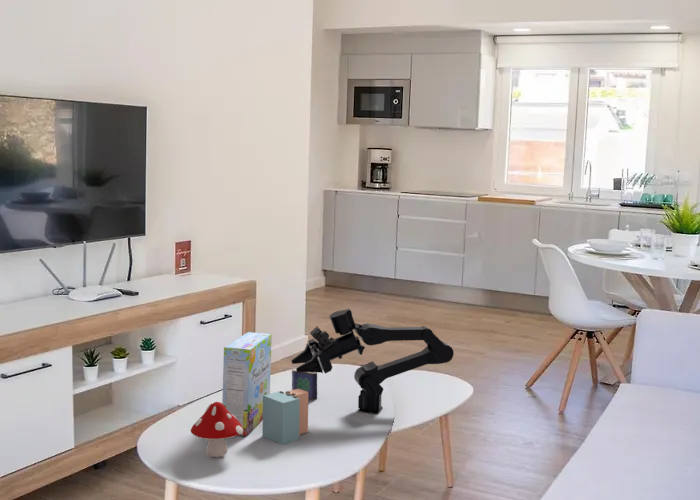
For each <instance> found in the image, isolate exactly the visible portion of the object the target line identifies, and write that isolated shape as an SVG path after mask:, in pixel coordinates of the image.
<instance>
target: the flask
mask: <svg viewBox="0 0 700 500" xmlns="http://www.w3.org/2000/svg"><path fill="white" fill-rule="evenodd" d="M295 389H301V390H304V391H307V392H308V400H312V401H316V400H318V372H297V370H296V368H295V369H294V368H293V369H292V370H291V390H295Z"/></svg>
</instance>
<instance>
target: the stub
mask: <svg viewBox="0 0 700 500" xmlns="http://www.w3.org/2000/svg"><path fill="white" fill-rule="evenodd" d="M284 393H285V394H290V395H291V396H296V397H297V398H299V399H300V405H299V436H300V435H303V434H306V433H308V432H309V425H308V424H309V399H308V392H307V391H304V390H301V389H295V390H292V389H291V390H286V391H285V392H284Z"/></svg>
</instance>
